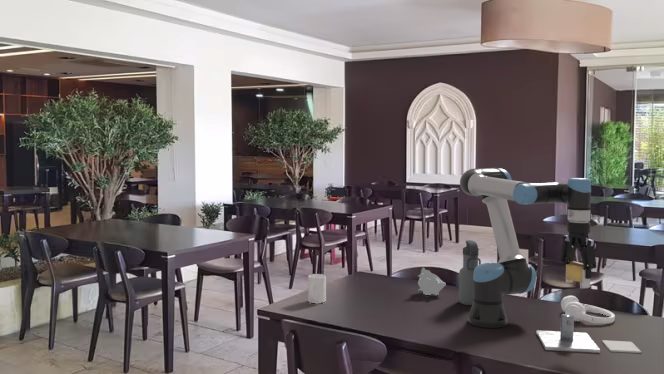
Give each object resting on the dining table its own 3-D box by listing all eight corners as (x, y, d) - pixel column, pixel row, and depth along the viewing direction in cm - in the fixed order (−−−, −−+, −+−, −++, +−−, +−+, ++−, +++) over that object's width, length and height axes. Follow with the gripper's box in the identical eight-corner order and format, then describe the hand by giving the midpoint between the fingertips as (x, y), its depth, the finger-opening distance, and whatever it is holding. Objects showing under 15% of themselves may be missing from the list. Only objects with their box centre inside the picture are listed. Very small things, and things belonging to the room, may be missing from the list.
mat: (610, 351, 205) (610, 349, 205) (602, 341, 215) (602, 340, 215) (641, 353, 204) (641, 351, 204) (631, 343, 214) (631, 341, 214)
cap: (561, 277, 214) (561, 261, 213) (578, 276, 216) (578, 260, 216) (576, 282, 206) (576, 265, 206) (593, 280, 209) (594, 263, 209)
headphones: (566, 323, 237) (619, 331, 233) (569, 303, 236) (622, 311, 232) (557, 309, 256) (607, 316, 252) (560, 291, 255) (609, 298, 251)
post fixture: (545, 349, 207) (546, 322, 206) (536, 333, 225) (537, 307, 224) (599, 352, 204) (601, 324, 203) (586, 335, 222) (587, 309, 221)
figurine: (448, 293, 284) (424, 283, 292) (448, 269, 276) (423, 259, 284) (436, 305, 277) (412, 294, 285) (436, 281, 270) (411, 270, 278)
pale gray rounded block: (301, 305, 263) (301, 279, 262) (311, 298, 274) (311, 273, 273) (318, 307, 260) (318, 280, 259) (328, 300, 271) (328, 274, 270)
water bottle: (484, 305, 262) (485, 243, 260) (462, 306, 261) (463, 243, 259) (476, 299, 272) (478, 239, 270) (456, 300, 271) (457, 239, 269)
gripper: (550, 218, 218) (549, 279, 220) (591, 225, 199) (590, 292, 201) (567, 217, 221) (566, 278, 222) (609, 224, 202) (607, 290, 203)
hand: (577, 284), depth 211 cm, fingers closed on cap, 7 cm apart
